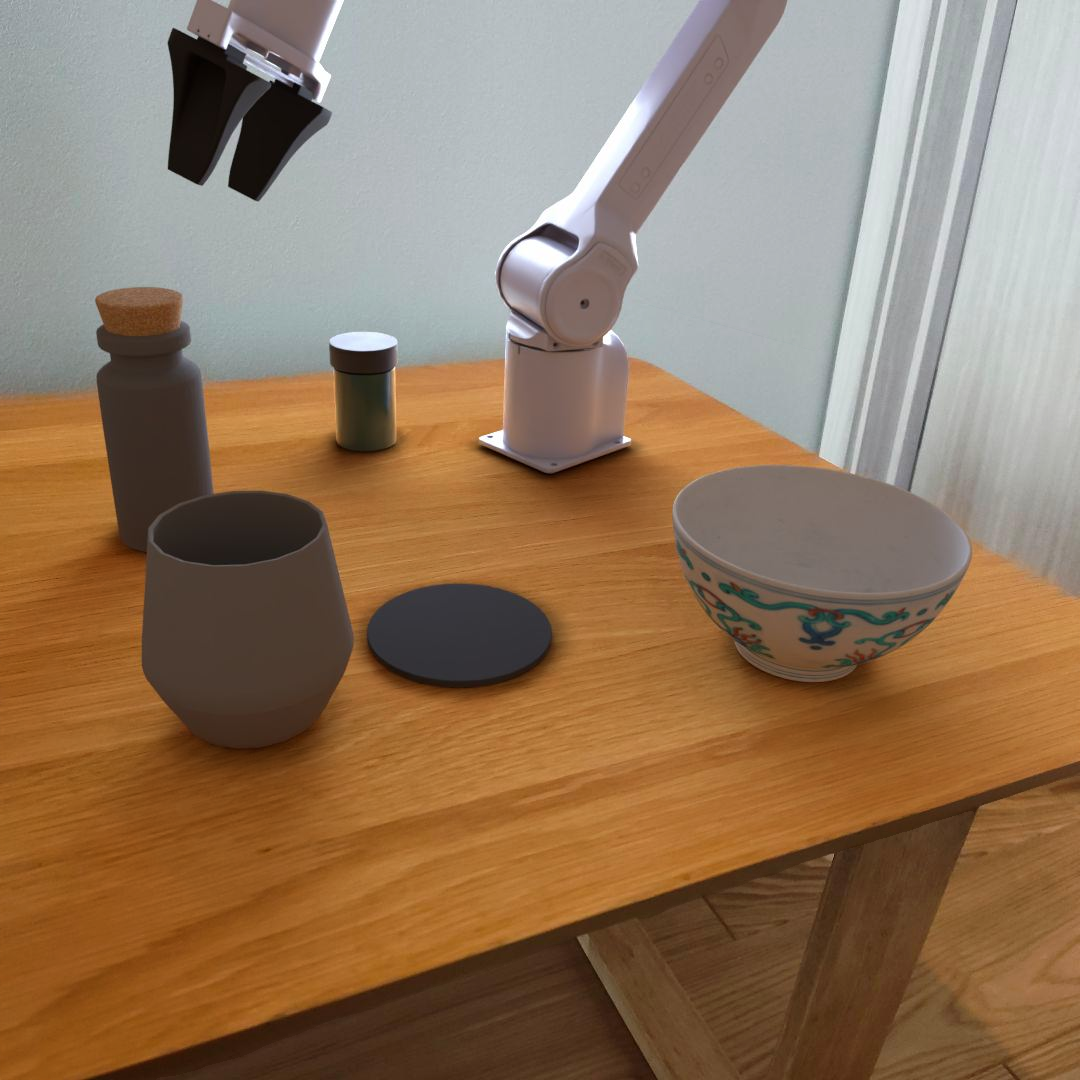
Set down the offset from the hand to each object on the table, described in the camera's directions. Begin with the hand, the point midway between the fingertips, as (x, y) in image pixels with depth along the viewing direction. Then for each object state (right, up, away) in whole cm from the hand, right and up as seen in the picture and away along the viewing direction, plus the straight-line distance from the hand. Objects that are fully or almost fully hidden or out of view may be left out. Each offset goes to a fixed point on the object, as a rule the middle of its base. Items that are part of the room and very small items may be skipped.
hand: (215, 186), depth 65 cm
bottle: (-4, -21, +2) cm, 22 cm away
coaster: (+16, -27, -7) cm, 32 cm away
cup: (+6, -30, -14) cm, 34 cm away
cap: (+7, -7, +14) cm, 17 cm away
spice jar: (+6, -14, +17) cm, 23 cm away
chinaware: (+34, -28, -7) cm, 44 cm away
